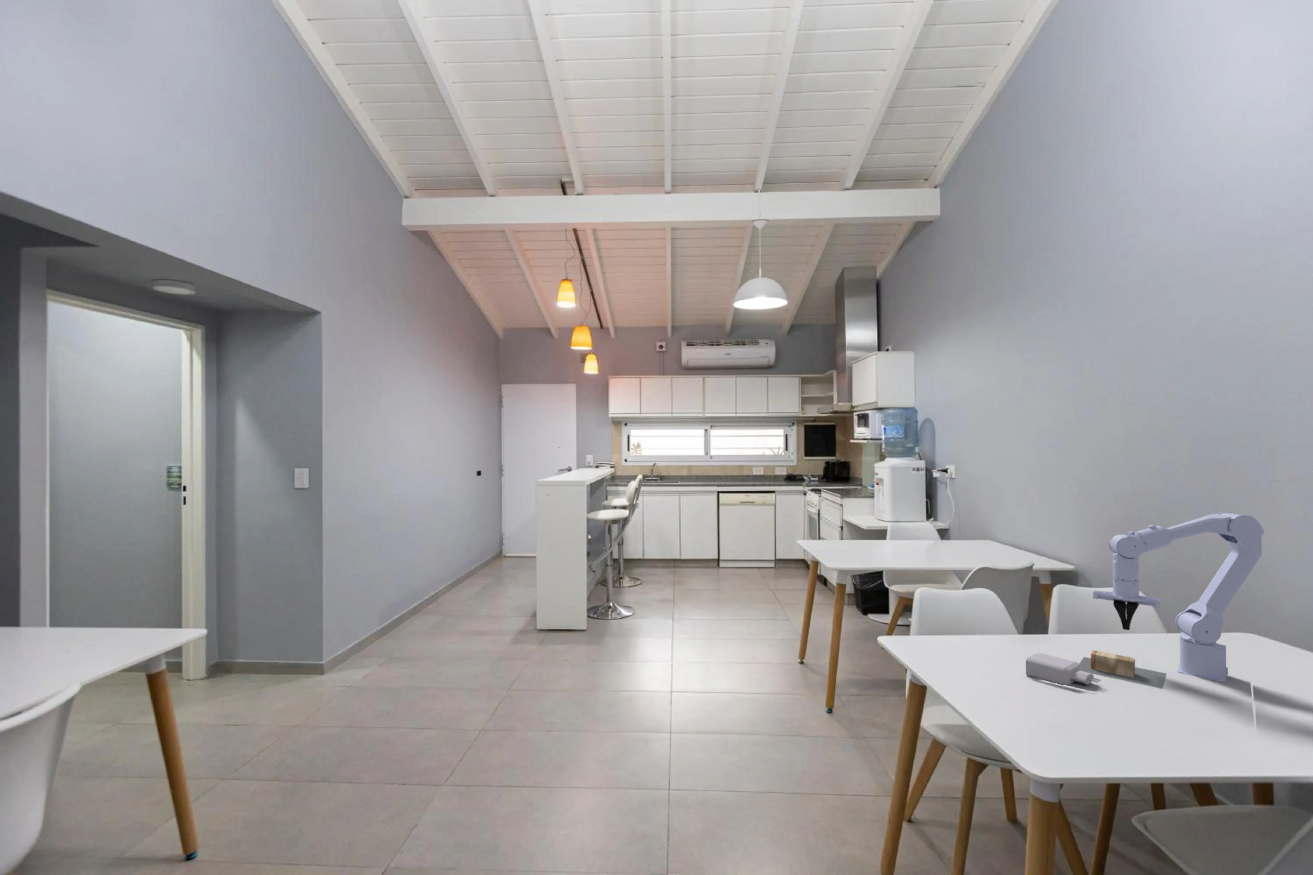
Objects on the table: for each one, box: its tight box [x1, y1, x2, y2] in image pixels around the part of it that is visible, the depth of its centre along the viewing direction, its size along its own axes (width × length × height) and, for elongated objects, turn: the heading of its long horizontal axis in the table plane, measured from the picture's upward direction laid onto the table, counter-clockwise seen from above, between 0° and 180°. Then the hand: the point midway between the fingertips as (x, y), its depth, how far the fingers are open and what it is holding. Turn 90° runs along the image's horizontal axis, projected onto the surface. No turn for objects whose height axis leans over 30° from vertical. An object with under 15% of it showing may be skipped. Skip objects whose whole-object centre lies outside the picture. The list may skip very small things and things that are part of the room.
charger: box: [1025, 652, 1102, 686], centre depth 157 cm, size 5×9×15 cm
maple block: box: [1090, 649, 1136, 677], centre depth 163 cm, size 4×4×9 cm
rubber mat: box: [1078, 656, 1167, 689], centre depth 162 cm, size 18×14×1 cm
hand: (1126, 628), depth 168 cm, fingers closed
